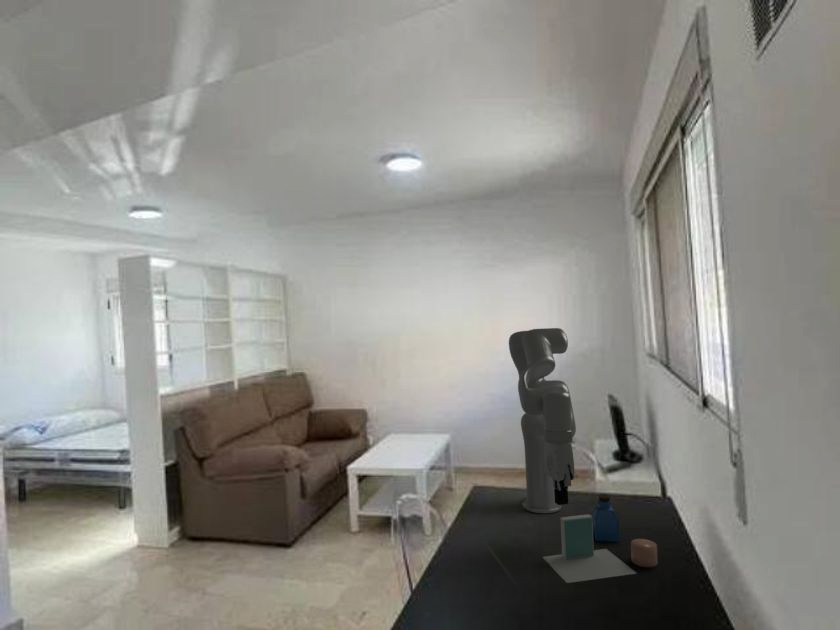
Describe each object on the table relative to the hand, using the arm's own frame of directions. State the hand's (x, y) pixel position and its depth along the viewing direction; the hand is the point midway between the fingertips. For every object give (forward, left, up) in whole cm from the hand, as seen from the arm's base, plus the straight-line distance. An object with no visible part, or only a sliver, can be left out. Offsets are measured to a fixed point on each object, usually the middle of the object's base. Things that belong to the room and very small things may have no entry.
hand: (561, 503), depth 144 cm
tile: (+8, 0, -11) cm, 14 cm away
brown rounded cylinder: (+15, +14, -11) cm, 24 cm away
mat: (+13, 0, -11) cm, 18 cm away
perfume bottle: (-1, +13, -12) cm, 18 cm away
